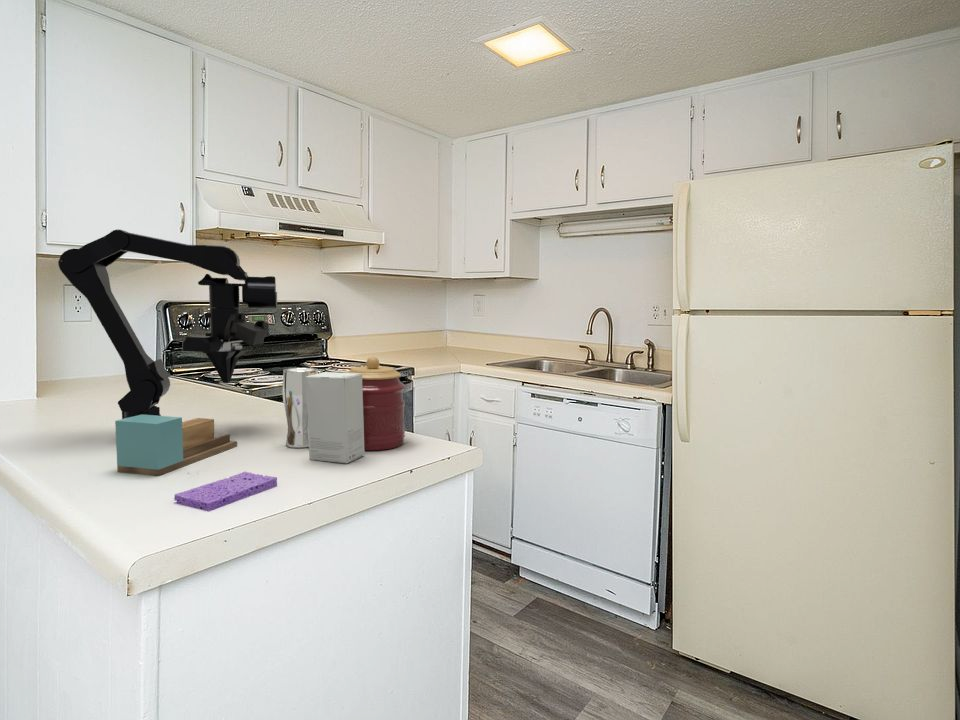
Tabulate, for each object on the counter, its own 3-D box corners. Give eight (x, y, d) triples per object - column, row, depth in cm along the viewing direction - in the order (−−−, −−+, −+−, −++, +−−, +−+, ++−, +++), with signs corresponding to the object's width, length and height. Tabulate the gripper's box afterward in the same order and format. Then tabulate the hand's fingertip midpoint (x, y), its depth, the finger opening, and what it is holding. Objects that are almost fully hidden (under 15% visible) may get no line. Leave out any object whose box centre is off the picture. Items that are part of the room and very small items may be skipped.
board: (117, 471, 95) (116, 456, 94) (201, 443, 114) (201, 430, 114) (158, 475, 93) (158, 460, 93) (237, 446, 112) (236, 433, 112)
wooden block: (139, 463, 96) (137, 434, 96) (198, 443, 110) (197, 417, 109) (157, 465, 95) (156, 435, 95) (214, 445, 109) (214, 419, 108)
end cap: (117, 465, 95) (115, 420, 94) (143, 457, 100) (142, 414, 99) (158, 469, 93) (156, 424, 92) (183, 460, 98) (181, 417, 97)
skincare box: (365, 456, 107) (365, 373, 106) (345, 465, 101) (345, 377, 100) (326, 451, 110) (326, 370, 108) (305, 460, 104) (304, 374, 102)
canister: (334, 438, 120) (334, 354, 118) (395, 434, 125) (396, 353, 123) (346, 454, 108) (345, 361, 106) (412, 448, 113) (413, 359, 112)
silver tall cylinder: (310, 449, 111) (310, 372, 109) (276, 447, 112) (275, 370, 110) (325, 441, 118) (324, 368, 116) (293, 439, 119) (292, 367, 117)
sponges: (277, 488, 89) (277, 477, 89) (208, 515, 78) (207, 501, 78) (245, 482, 92) (245, 470, 92) (173, 506, 81) (173, 493, 81)
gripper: (230, 309, 108) (231, 391, 110) (284, 308, 126) (285, 379, 128) (179, 308, 111) (181, 388, 112) (239, 307, 129) (241, 376, 130)
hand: (226, 382), depth 121 cm, fingers closed
